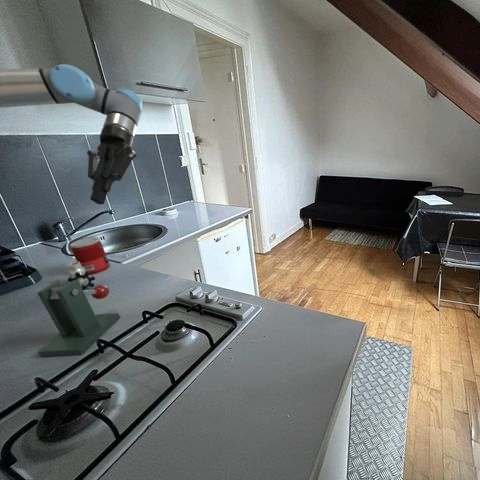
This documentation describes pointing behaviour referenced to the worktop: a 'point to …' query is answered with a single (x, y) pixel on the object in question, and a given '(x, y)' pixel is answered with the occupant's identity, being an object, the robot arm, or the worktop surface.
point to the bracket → (73, 320)
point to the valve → (79, 274)
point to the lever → (86, 292)
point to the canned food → (90, 254)
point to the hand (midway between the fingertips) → (97, 201)
